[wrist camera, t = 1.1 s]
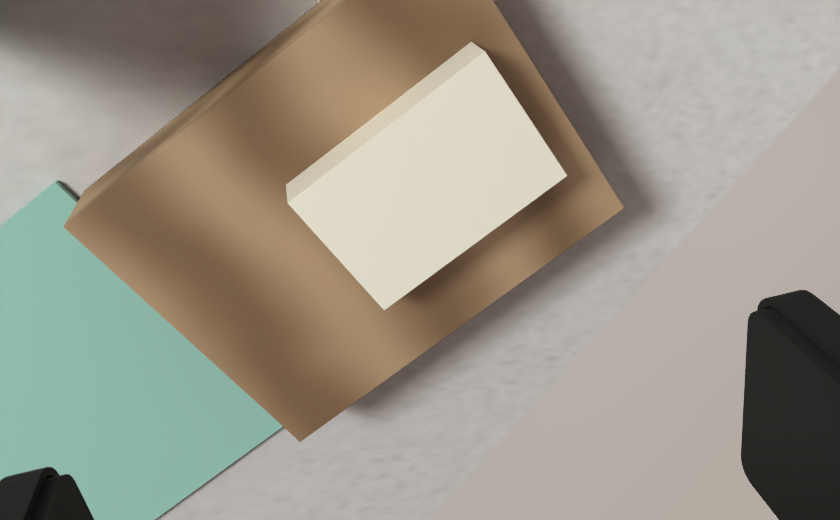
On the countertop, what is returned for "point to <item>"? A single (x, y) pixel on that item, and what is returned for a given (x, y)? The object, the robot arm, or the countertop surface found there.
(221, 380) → the mat
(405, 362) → the wooden block
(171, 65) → the countertop surface
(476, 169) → the tile
